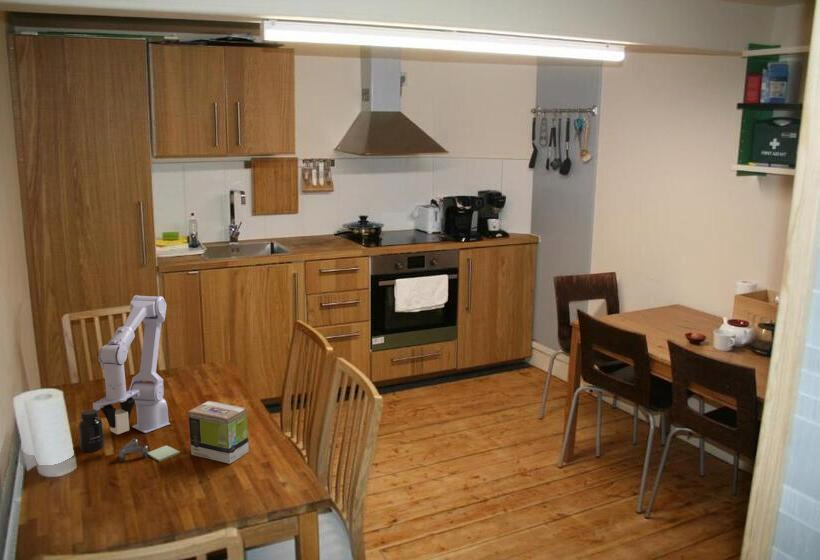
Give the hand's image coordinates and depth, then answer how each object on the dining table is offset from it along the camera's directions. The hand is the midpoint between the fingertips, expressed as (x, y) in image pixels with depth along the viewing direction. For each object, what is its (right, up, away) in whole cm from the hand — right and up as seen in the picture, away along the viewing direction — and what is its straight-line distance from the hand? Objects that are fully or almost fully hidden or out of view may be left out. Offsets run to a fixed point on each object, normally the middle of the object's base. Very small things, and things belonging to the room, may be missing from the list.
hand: (119, 424), depth 229 cm
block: (0, -2, 0) cm, 2 cm away
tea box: (+31, -9, +1) cm, 32 cm away
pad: (+14, -9, 0) cm, 16 cm away
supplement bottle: (-10, -8, +4) cm, 14 cm away
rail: (+5, -9, -2) cm, 11 cm away
